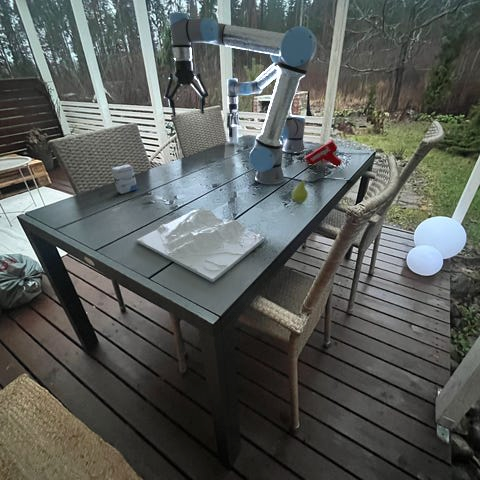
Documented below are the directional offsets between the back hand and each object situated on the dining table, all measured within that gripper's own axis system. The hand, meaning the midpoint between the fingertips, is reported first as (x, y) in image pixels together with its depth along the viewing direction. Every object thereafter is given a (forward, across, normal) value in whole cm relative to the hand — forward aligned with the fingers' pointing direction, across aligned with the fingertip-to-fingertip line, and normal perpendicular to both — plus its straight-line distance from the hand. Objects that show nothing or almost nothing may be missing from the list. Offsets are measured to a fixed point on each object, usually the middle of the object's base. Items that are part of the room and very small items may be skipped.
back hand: (233, 135), depth 210 cm
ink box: (+6, +108, 0) cm, 108 cm away
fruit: (+6, +82, +79) cm, 114 cm away
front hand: (-27, +82, +22) cm, 88 cm away
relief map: (+6, +129, +59) cm, 142 cm away
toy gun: (+6, +26, +76) cm, 80 cm away
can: (+4, 0, 0) cm, 4 cm away
